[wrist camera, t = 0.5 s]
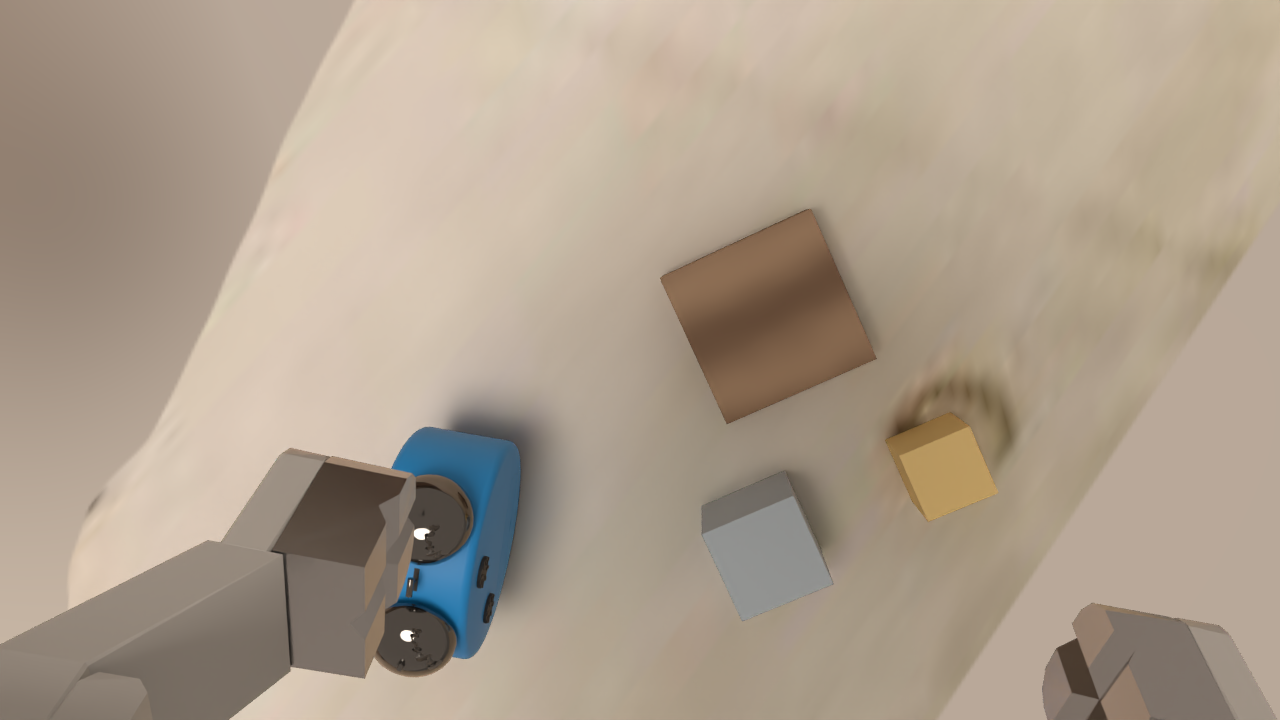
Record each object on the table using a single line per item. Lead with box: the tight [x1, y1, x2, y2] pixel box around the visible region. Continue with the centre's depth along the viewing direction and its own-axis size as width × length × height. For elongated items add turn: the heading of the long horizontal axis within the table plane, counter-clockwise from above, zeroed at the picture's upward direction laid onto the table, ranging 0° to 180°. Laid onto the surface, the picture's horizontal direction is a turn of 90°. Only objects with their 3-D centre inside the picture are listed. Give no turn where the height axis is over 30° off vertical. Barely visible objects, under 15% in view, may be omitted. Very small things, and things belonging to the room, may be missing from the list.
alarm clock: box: [374, 427, 521, 677], centre depth 56 cm, size 13×6×15 cm, turn 171°
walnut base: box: [660, 209, 877, 424], centre depth 58 cm, size 10×10×3 cm
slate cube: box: [702, 471, 833, 621], centre depth 59 cm, size 6×6×6 cm
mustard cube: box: [885, 412, 998, 522], centre depth 58 cm, size 4×4×4 cm
